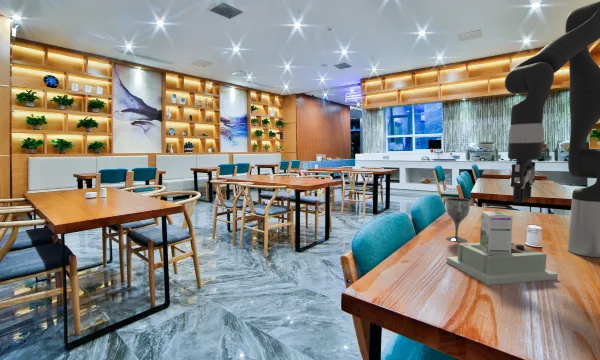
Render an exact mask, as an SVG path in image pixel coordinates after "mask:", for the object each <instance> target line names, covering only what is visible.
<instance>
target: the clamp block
mask: <svg viewBox="0 0 600 360" xmlns="http://www.w3.org/2000/svg"><path fill="white" fill-rule="evenodd" d="M528 252H536V251H535V250H532V249H529V248H527V247H525V245H524V244H521V243H514V244H513V245H511V254H512V253H528Z"/></svg>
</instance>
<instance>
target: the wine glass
mask: <svg viewBox="0 0 600 360" xmlns="http://www.w3.org/2000/svg"><path fill="white" fill-rule="evenodd" d="M445 208H446V213H447V215H448V217H449V218H450V219H451V220H452V222H453V223H454V230H455V232H454V233H455V235H454V236H447V238H446V237H445V240H446V239H447V240H446V241H449V242H453V243H468V240H467V239H466V238H464V237H460V236H459V235H458V233H459V232H458V231H459V227H460V224H461V223H462V222H463V220H464V219H465V218H466V217H468V215H469V212H470V209H471V199H469V198H463V197H446V200H445Z"/></svg>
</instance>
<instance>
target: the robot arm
mask: <svg viewBox="0 0 600 360" xmlns="http://www.w3.org/2000/svg"><path fill="white" fill-rule="evenodd" d="M564 28H565V29H564V32H565V33H564V34H562V35H561V36H558V37H557V38H555V39H554V40H552V41H550V42H549V43H548V44H546V45H545V46H544V47H543V48H541V50H540V51H538V52H537V53H536V54H535V55H533V56H531V57H529V58H528V59H526V60H524V61H522V62H520V63H519V64H517V65H516V66H514V67H513V68H512V69H511V70H509V72H508V73H507V75H506V76H505V79H504V87H505V90H507V91H508V93H510V94H512V95H521V94H527V95H526V97H525V98H524V99H523V100H521V101H519V102H516V103H513V105H512V106H511V110H510V128H509V131H508V143H507V144H508V145H507V147H508V148H507V158H508V159H509V160H515V161H516V162H515V163H512V165H511V174H510V175H511V176H510V187H512V189H513V193H512V202H513V203H514V204H523V203H524V200H530V199H531V198H532V186H533V185H534V183H535V181H536V180H535V174H536V173H535V171H536V161H533V160H540V159H542V158H543V143H544V127H543V118H544V107H545V104H546V102H547V99H548V97H549V93H550V91H551V89H552V86H553V83H554V79H555V73H557V72H558V71H559V70H561V68H563V67H564V66H565V65H567V63H568V67H569V90H568V91H569V92H568V93H569V94H568V95H569V98H568V99H569V101H568V102H569V103H568V104H569V121H570V122H569V123H570V124H569V126H570V127H569V129H570V131H569V133H570V134H569V146H568V159H567V163H568V164H567V166H568V167H567V168H568V173H569V174H570V175H571V176H572V177H573V178H582V179H596V181H595V183H594V184H592V185H589V186H586V187H581V188H575V189H573V191H572V193H571V194H572V195H571V205H570V207H571V208H570V217H569V218H570V219H569V230H568V231H569V232H568V241H567V242H568V244H567V250H568V252H569V253H572V254H574V255H575V254H576V255H580V256H584V257H591V258H600V148H587V141H588V137H589V134H590V133H591V132H592V130H593V128H594V127H595V126H596V124H597V123H598V122H599V121H600V66H599V65H598V64H597V63H596V61H595V60H594V59H593V57H592V55H591V53H590V50H589V47H590V45H592V44H593V43H595V42H597V41H598V40H600V1H596V2H593V3H590V4H587V5H584V6H581V7H578V8H576V9H573V10H571V11H570V13H568V15H567V17H566V19H565V27H564Z"/></svg>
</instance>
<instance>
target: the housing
mask: <svg viewBox="0 0 600 360" xmlns="http://www.w3.org/2000/svg"><path fill="white" fill-rule="evenodd" d="M513 244H515V242H512V241H511V245H513ZM457 245H458V246H457V256H446V263H448V264H449V265H451V266H453V267H454V268H457V269H458V270H460V271H462V272H464V273H466V275H469V276H471V277H473V278H475V280H478V281H480V282H482V283H484V284H485V285H487V286H492V285H503V284H517V283H528V282H529V283H530V282H541V281H543V282H544V281H553V280H554V281H555V280H558V275H559V273H557V272H555V271H552V270H550V269H547V268H546V267H547V253H544V252H542V251H535V252H528V253H512V254H495V255H491V254H488V253H486V252H483V251H481V250H480V242H464V243H457Z"/></svg>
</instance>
